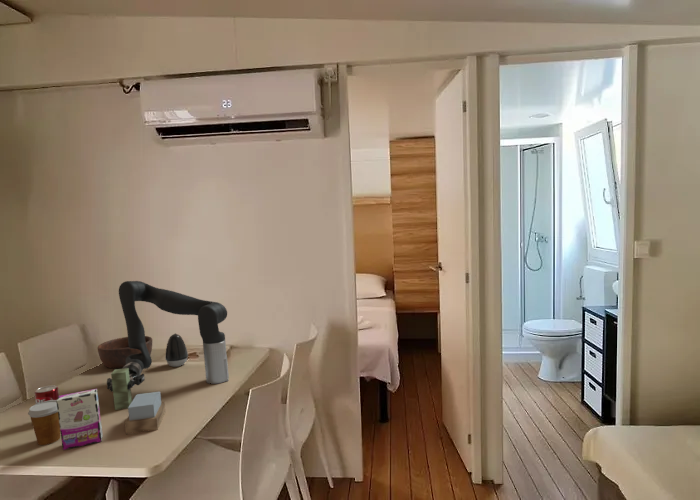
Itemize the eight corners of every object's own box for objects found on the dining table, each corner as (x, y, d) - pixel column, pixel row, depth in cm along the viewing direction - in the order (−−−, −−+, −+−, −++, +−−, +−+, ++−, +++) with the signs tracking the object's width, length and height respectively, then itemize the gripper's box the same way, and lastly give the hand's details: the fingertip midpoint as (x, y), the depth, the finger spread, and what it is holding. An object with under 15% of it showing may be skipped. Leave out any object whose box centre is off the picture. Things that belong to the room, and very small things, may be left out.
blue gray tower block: (161, 403, 174) (160, 391, 173) (154, 417, 162) (153, 404, 161) (137, 406, 172) (136, 394, 172) (129, 420, 160) (128, 407, 160)
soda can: (50, 425, 170) (46, 392, 169) (33, 424, 172) (29, 392, 170) (66, 416, 177) (62, 385, 176) (49, 415, 179) (46, 384, 178)
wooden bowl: (164, 357, 245) (162, 338, 244) (118, 373, 224) (116, 352, 223) (135, 352, 258) (133, 333, 257) (89, 366, 237) (86, 346, 236)
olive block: (132, 403, 186) (128, 367, 185) (129, 408, 182) (125, 372, 180) (118, 404, 185) (114, 369, 184) (114, 410, 180) (111, 373, 179)
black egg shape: (188, 360, 238) (186, 330, 236) (188, 366, 228) (185, 335, 226) (166, 363, 235) (163, 333, 233) (165, 370, 225) (162, 338, 223)
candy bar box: (103, 435, 159) (97, 387, 158) (101, 442, 155) (96, 392, 153) (64, 444, 155) (58, 394, 154) (62, 450, 150) (56, 400, 149)
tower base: (165, 413, 176) (164, 401, 176) (157, 431, 161) (156, 418, 161) (136, 417, 174) (135, 405, 174) (126, 435, 159) (124, 422, 159)
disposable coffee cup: (35, 438, 161) (30, 403, 160) (67, 431, 164) (63, 397, 163) (28, 450, 152) (24, 414, 151) (63, 443, 156) (59, 407, 155)
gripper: (110, 367, 195) (98, 381, 179) (148, 362, 198) (139, 375, 182) (112, 384, 196) (100, 400, 179) (149, 380, 199) (141, 395, 182)
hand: (120, 388), depth 181 cm, fingers open, 5 cm apart
